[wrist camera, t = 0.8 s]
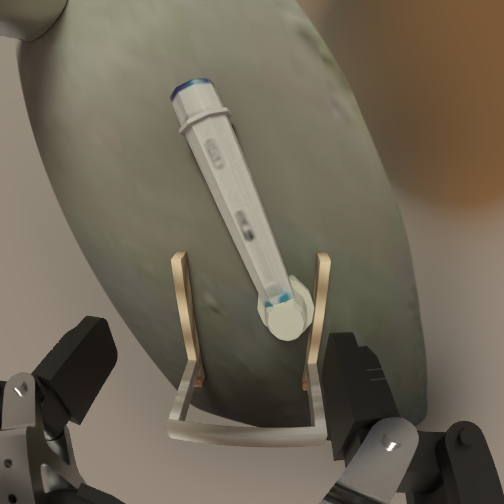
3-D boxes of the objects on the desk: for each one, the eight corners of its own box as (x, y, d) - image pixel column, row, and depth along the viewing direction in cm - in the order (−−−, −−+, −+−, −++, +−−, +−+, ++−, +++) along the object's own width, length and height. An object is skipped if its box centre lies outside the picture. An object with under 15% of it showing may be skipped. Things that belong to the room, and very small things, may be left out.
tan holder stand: (174, 251, 28) (121, 320, 16) (329, 252, 27) (365, 327, 16) (195, 375, 34) (174, 449, 23) (311, 379, 34) (320, 457, 22)
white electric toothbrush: (213, 67, 18) (325, 348, 23) (229, 91, 24) (318, 314, 29) (155, 97, 19) (269, 365, 24) (182, 113, 25) (273, 329, 30)
